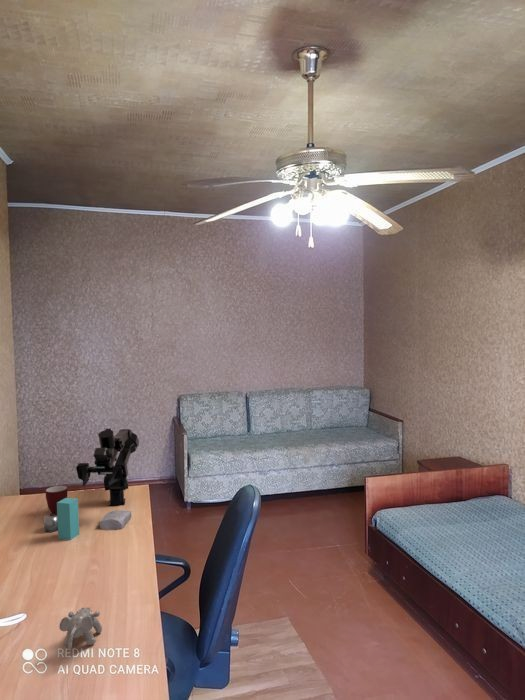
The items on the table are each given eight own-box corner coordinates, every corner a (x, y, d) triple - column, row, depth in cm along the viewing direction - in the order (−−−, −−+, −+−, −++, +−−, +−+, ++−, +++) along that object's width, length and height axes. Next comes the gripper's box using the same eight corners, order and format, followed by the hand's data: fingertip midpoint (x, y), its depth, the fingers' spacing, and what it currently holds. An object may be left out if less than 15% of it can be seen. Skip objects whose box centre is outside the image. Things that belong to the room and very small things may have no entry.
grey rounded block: (46, 528, 184) (45, 514, 184) (60, 526, 185) (59, 513, 185) (43, 533, 179) (42, 520, 179) (58, 531, 181) (57, 518, 180)
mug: (46, 509, 203) (45, 485, 202) (67, 506, 206) (66, 482, 206) (46, 518, 193) (45, 493, 193) (68, 515, 196) (67, 490, 196)
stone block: (98, 535, 182) (124, 529, 181) (95, 522, 182) (121, 516, 181) (109, 523, 194) (134, 518, 193) (106, 511, 194) (131, 506, 193)
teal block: (67, 533, 179) (65, 497, 179) (79, 534, 178) (77, 498, 177) (58, 538, 174) (56, 502, 174) (70, 540, 173) (69, 503, 173)
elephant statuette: (101, 627, 123) (100, 596, 123) (104, 654, 112) (102, 620, 112) (61, 636, 120) (60, 605, 120) (59, 665, 108) (58, 630, 108)
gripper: (80, 442, 193) (66, 467, 179) (128, 441, 193) (118, 466, 179) (85, 465, 198) (72, 492, 184) (131, 464, 198) (122, 490, 184)
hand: (95, 484), depth 182 cm, fingers open, 9 cm apart
